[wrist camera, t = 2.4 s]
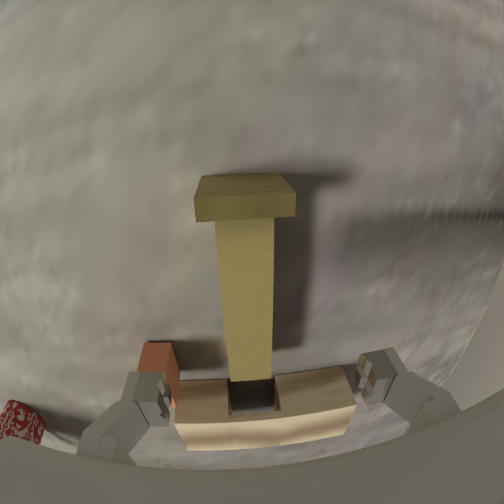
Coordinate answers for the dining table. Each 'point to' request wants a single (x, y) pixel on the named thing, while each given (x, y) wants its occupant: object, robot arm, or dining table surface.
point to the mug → (21, 423)
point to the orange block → (161, 364)
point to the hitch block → (267, 423)
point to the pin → (246, 261)
